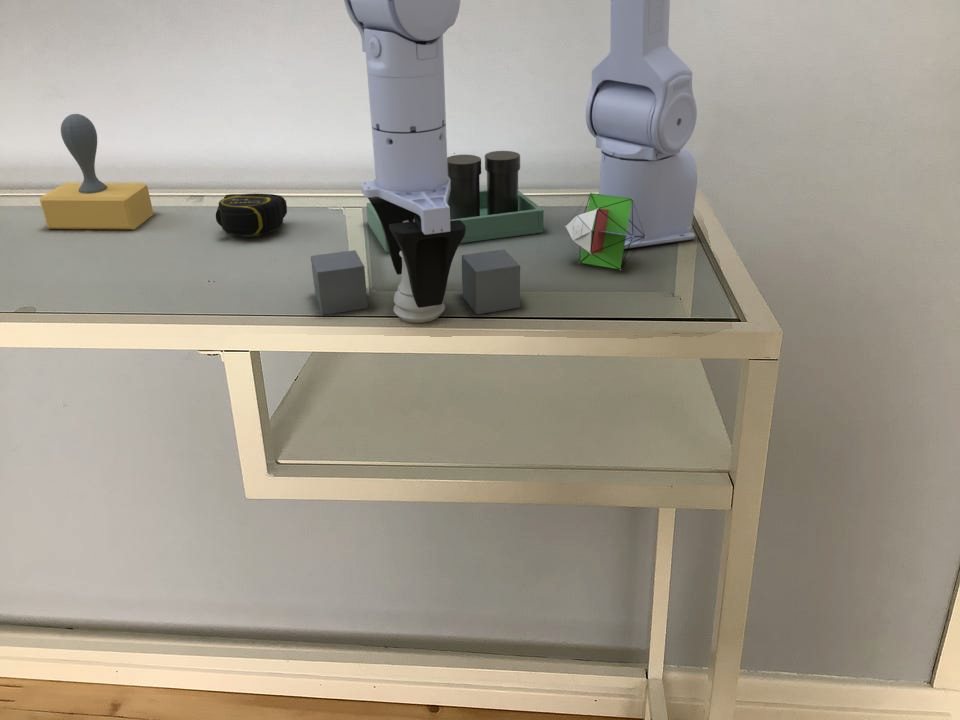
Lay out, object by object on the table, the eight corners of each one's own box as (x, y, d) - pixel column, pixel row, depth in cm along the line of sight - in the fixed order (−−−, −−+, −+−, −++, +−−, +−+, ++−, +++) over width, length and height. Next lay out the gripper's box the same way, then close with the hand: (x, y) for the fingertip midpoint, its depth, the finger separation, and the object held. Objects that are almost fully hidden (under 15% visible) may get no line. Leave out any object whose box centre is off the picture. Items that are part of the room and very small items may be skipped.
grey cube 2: (504, 290, 74) (504, 249, 72) (519, 307, 71) (520, 265, 69) (462, 296, 73) (461, 254, 71) (476, 314, 70) (475, 271, 68)
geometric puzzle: (591, 217, 84) (574, 171, 77) (656, 226, 81) (645, 179, 74) (569, 277, 82) (550, 236, 75) (635, 289, 79) (621, 247, 72)
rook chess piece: (386, 321, 69) (379, 231, 65) (403, 300, 72) (397, 213, 68) (437, 326, 68) (432, 235, 64) (451, 304, 71) (448, 217, 68)
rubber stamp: (46, 229, 90) (14, 120, 84) (72, 213, 95) (44, 108, 89) (133, 230, 90) (107, 120, 84) (154, 213, 95) (131, 108, 89)
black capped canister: (512, 210, 92) (512, 149, 89) (524, 221, 89) (525, 157, 85) (480, 214, 91) (480, 152, 88) (492, 225, 88) (491, 161, 84)
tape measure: (291, 221, 92) (286, 189, 90) (276, 242, 86) (271, 208, 84) (231, 221, 92) (225, 189, 90) (212, 243, 86) (206, 208, 84)
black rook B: (475, 215, 91) (474, 153, 87) (486, 226, 88) (485, 161, 84) (443, 219, 90) (440, 156, 86) (453, 230, 87) (450, 165, 83)
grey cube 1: (359, 290, 74) (355, 249, 72) (368, 308, 71) (364, 265, 69) (315, 297, 73) (310, 255, 71) (322, 315, 70) (317, 272, 68)
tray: (513, 207, 95) (513, 186, 94) (543, 232, 87) (543, 210, 86) (368, 224, 90) (366, 202, 89) (386, 253, 82) (384, 229, 81)
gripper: (340, 110, 67) (355, 263, 74) (377, 152, 55) (390, 330, 62) (423, 103, 69) (430, 253, 76) (476, 142, 57) (479, 317, 64)
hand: (418, 287), depth 69 cm, fingers open, 7 cm apart
